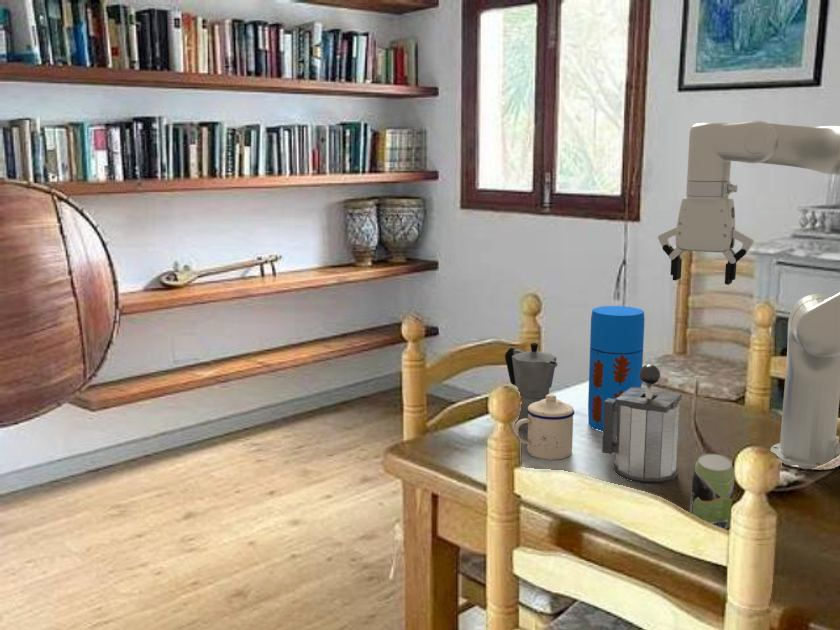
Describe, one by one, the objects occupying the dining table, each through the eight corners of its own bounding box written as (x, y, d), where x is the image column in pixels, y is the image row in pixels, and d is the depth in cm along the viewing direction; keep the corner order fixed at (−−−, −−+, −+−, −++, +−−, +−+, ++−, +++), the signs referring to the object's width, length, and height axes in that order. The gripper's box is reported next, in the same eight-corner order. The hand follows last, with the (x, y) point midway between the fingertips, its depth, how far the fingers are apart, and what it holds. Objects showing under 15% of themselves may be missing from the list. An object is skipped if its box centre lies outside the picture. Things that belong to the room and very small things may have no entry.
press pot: (684, 467, 157) (688, 393, 154) (666, 488, 148) (670, 409, 145) (614, 454, 164) (617, 382, 161) (593, 473, 155) (595, 397, 152)
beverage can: (720, 519, 135) (725, 448, 133) (738, 540, 128) (744, 465, 126) (681, 519, 135) (685, 449, 133) (697, 541, 128) (702, 466, 126)
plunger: (671, 455, 156) (676, 363, 152) (659, 467, 150) (664, 372, 146) (633, 448, 159) (637, 357, 156) (620, 460, 153) (623, 366, 150)
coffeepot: (570, 428, 179) (572, 345, 176) (538, 437, 174) (539, 352, 170) (520, 410, 191) (522, 332, 188) (489, 418, 186) (490, 338, 182)
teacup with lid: (561, 442, 171) (562, 386, 168) (581, 458, 162) (583, 399, 160) (505, 448, 168) (506, 391, 165) (522, 464, 159) (523, 405, 157)
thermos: (644, 433, 175) (650, 315, 170) (592, 433, 175) (596, 316, 170) (632, 417, 186) (637, 305, 181) (583, 417, 186) (587, 305, 181)
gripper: (760, 190, 155) (754, 282, 159) (667, 188, 165) (662, 275, 168) (752, 193, 149) (745, 288, 153) (655, 190, 158) (651, 280, 162)
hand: (702, 281), depth 160 cm, fingers open, 9 cm apart
